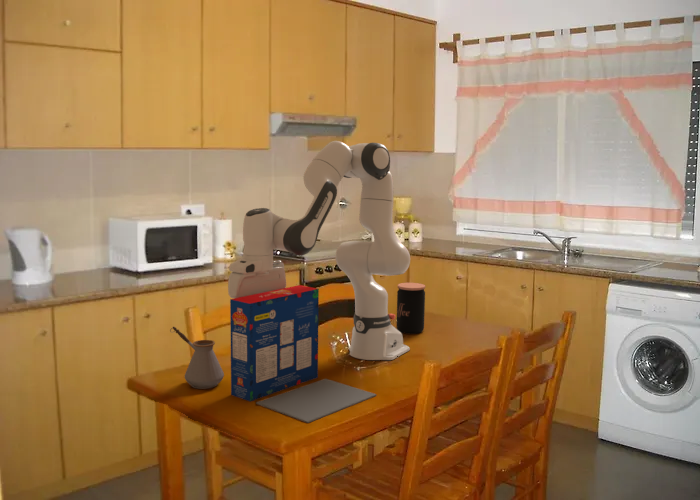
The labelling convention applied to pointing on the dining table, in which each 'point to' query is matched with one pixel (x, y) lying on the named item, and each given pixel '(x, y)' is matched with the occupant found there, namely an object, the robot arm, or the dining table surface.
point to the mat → (316, 400)
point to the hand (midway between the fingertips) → (258, 308)
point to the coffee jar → (410, 308)
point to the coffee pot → (202, 364)
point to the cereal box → (273, 341)
